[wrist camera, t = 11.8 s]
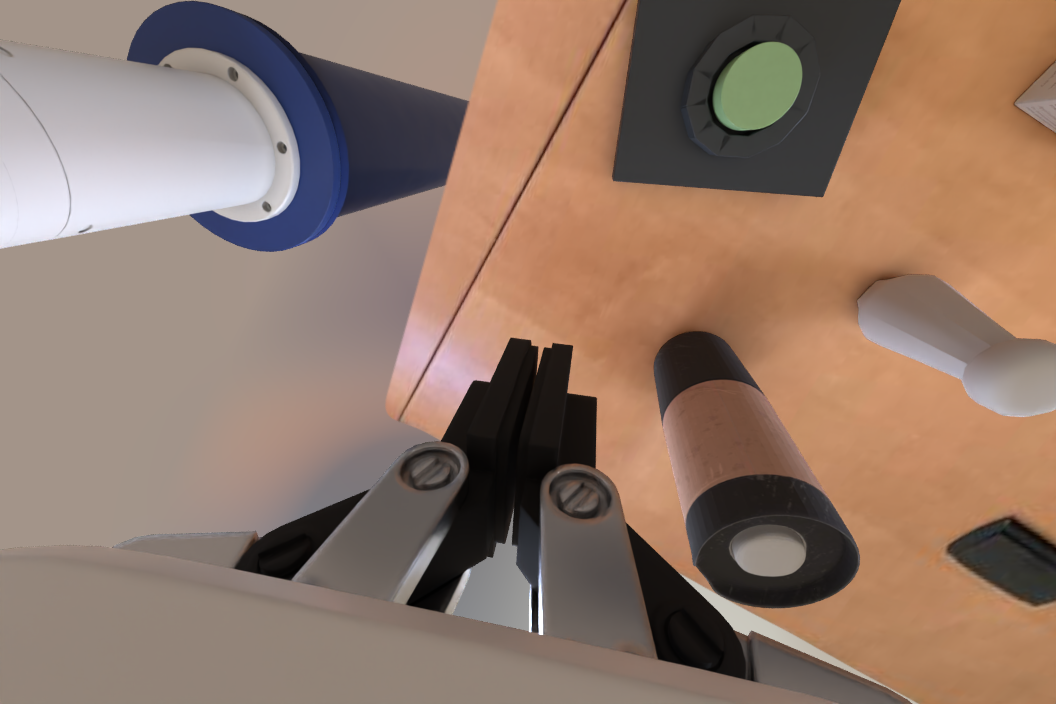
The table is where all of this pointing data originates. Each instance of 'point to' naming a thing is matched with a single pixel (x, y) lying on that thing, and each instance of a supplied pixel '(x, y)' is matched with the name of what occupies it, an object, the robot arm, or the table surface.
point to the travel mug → (746, 483)
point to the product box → (1041, 99)
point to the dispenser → (694, 66)
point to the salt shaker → (960, 343)
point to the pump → (757, 86)
